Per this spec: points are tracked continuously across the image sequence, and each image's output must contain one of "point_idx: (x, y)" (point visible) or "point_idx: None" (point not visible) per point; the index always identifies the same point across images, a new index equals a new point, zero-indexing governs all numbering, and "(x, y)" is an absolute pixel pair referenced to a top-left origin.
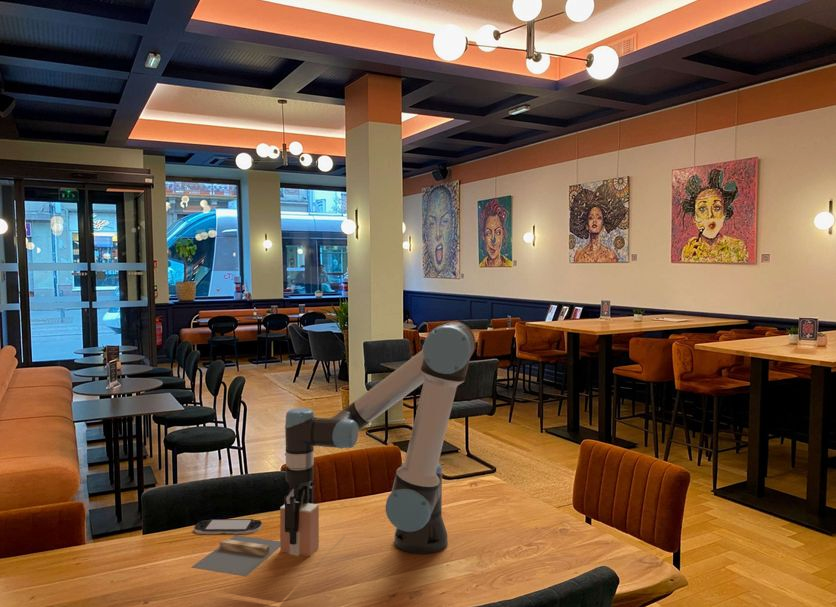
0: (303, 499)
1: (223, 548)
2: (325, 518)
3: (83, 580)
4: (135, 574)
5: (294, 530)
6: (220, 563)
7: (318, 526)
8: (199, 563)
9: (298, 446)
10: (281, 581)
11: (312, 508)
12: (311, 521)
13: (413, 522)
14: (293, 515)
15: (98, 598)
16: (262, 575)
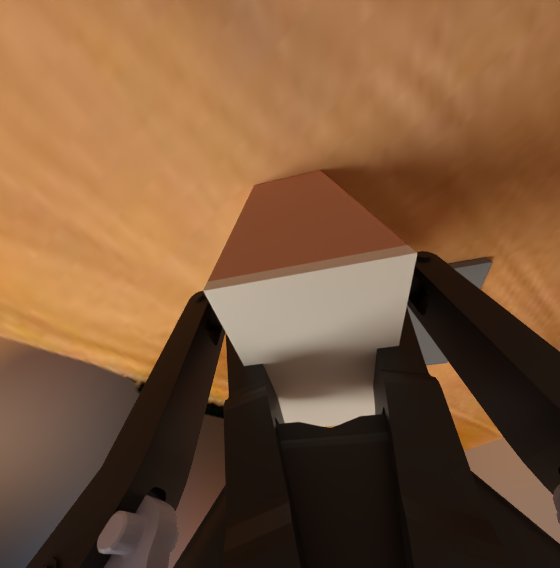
0: (277, 414)
1: None
2: (89, 303)
3: (481, 416)
4: (462, 394)
5: (423, 255)
6: (425, 338)
7: (243, 213)
8: (430, 361)
9: None
10: (505, 151)
11: (330, 280)
12: (349, 215)
13: None
14: (509, 323)
15: None
16: (459, 235)
